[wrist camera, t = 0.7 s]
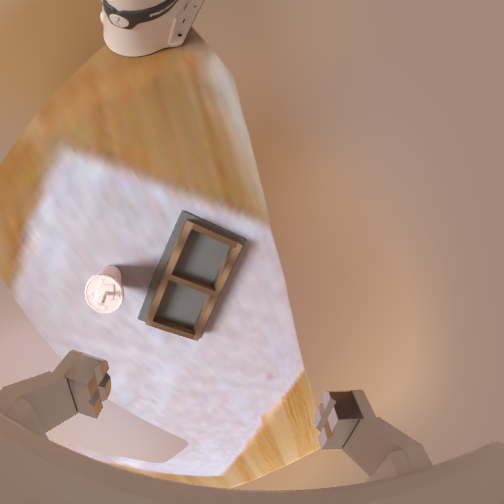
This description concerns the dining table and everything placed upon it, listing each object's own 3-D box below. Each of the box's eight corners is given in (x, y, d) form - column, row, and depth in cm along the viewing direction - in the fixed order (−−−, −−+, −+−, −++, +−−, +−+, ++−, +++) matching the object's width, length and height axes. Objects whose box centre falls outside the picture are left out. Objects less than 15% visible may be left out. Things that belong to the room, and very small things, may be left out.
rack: (186, 218, 49) (188, 221, 47) (237, 241, 53) (242, 245, 51) (145, 316, 51) (145, 324, 48) (195, 333, 55) (197, 340, 52)
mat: (182, 210, 49) (182, 210, 49) (245, 239, 54) (246, 239, 54) (137, 317, 51) (137, 319, 50) (198, 337, 56) (199, 339, 56)
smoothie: (135, 276, 49) (130, 308, 36) (112, 298, 48) (102, 335, 36) (111, 250, 46) (97, 275, 34) (88, 273, 46) (69, 305, 33)
